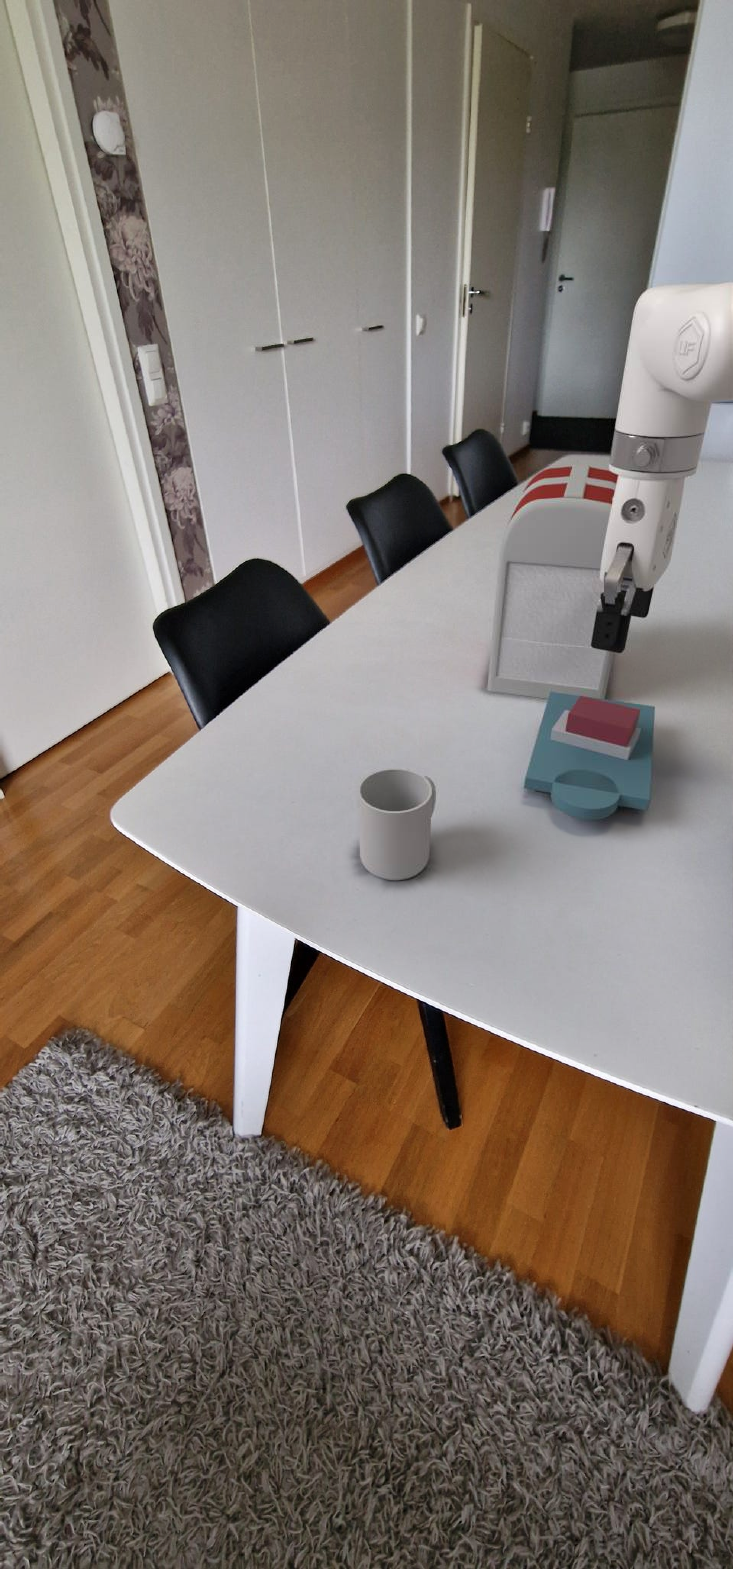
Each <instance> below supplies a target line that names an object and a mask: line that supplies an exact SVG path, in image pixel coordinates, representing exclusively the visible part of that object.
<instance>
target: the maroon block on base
mask: <svg viewBox="0 0 733 1569" xmlns="http://www.w3.org/2000/svg"><path fill="white" fill-rule="evenodd" d="M640 711H641V710H640V709H635V708H631V707H627V706H623V705H618V704H614V703H610V702H606V701H602V700H597V699H593V698H589V697H585V696H580V697H579V698H578V700H577V701H576V703H575V704H574V706H573V707H572V709H571V710H570V711H568V710H565V711H564V713H563V714H562V716H561V717H560V718H559V720H558V721H557V723H556V724H555V726H554V727H553V729H552V733H551V740H554V741H558V742H561V743H565V744H569V745H573V746H576V747H580V748H584V749H587V750H591V751H595V752H599V753H602V754H606V755H610V756H613V757H617V758H621V759H625V760H628V759H629V757H630V755H631V753H632V751H633V749H634V747H635V745H636V743H637V741H638V739H639V735H640V731H641V729H640V728H636V727H637V723H638V719H639V715H640Z"/></svg>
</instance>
